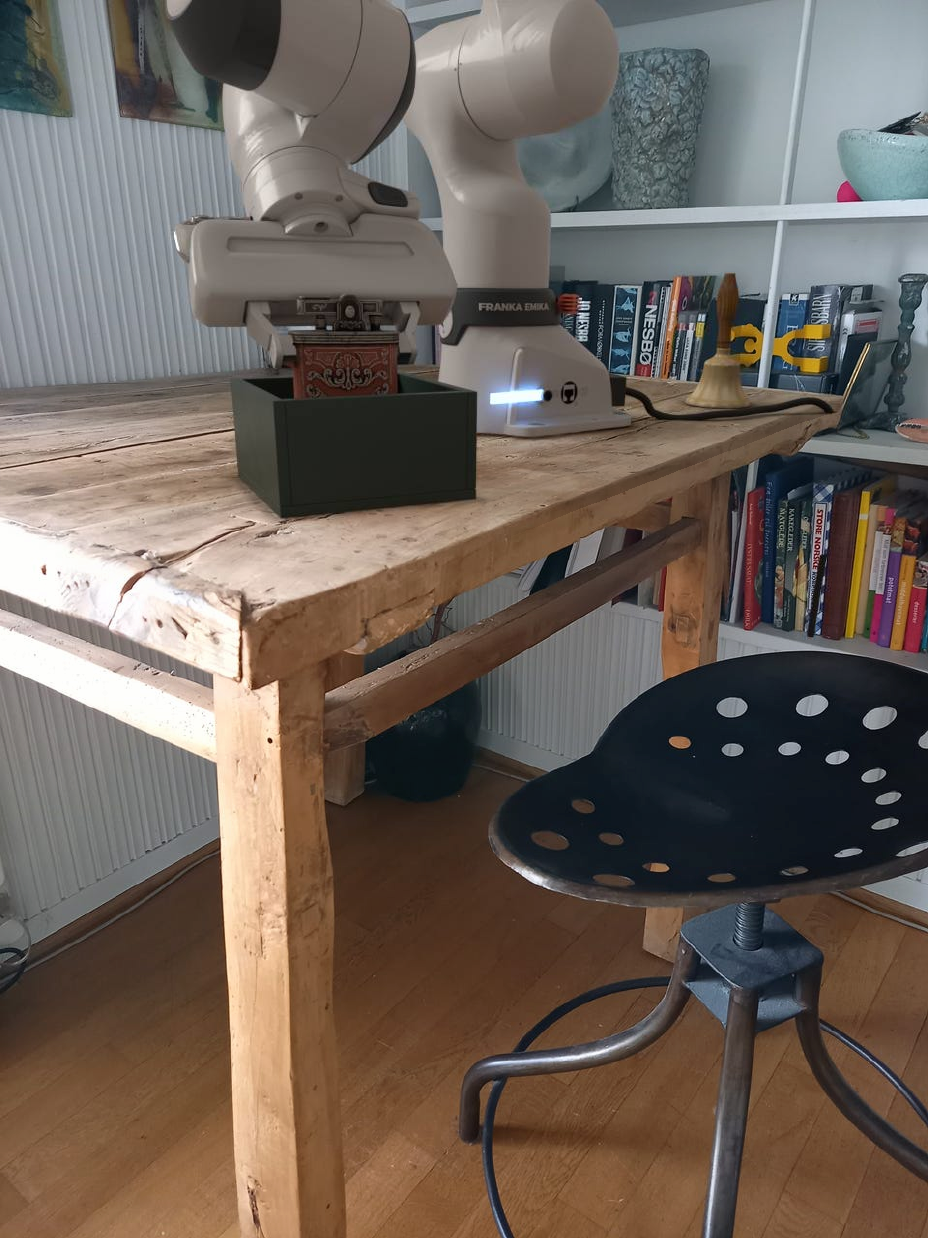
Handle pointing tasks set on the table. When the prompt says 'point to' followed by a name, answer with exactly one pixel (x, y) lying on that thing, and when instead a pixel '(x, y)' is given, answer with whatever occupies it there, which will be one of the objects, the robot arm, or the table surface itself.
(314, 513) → the bin
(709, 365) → the hand bell
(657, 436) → the table surface
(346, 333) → the lighter
